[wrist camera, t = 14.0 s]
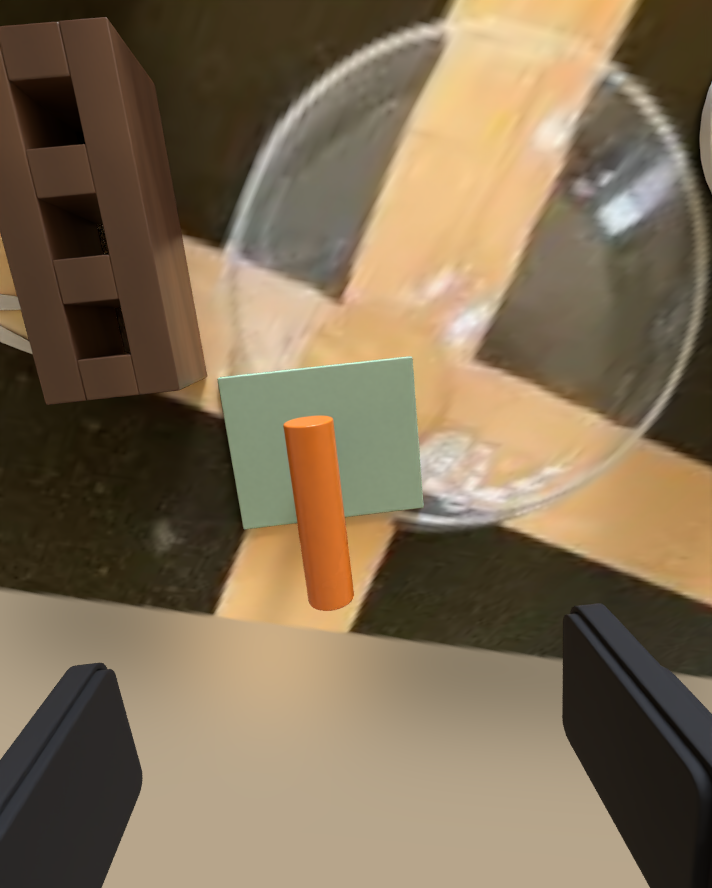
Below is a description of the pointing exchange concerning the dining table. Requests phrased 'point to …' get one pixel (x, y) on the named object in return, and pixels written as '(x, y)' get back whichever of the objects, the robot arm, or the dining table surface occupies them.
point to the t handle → (319, 510)
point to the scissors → (7, 336)
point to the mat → (356, 431)
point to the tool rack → (92, 215)
